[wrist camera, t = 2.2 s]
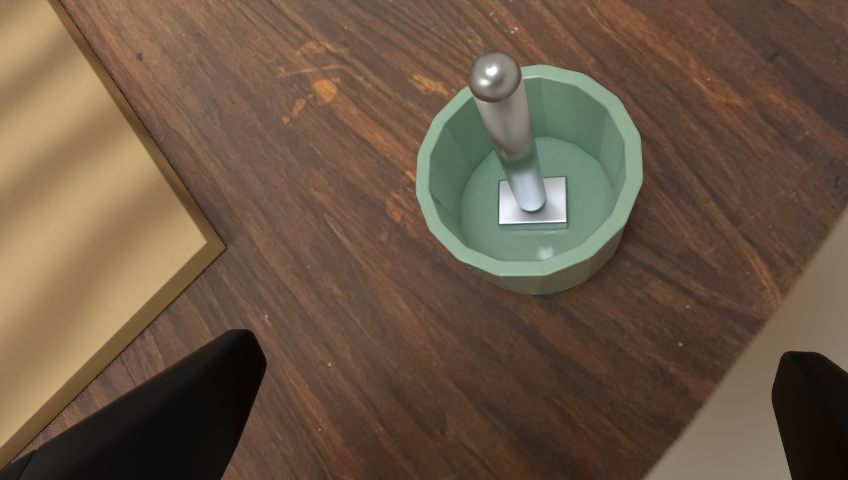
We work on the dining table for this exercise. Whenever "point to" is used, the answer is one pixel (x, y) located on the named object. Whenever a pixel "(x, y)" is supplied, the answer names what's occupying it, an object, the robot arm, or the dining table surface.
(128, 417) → the robot arm
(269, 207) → the dining table surface
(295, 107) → the dining table surface
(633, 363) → the dining table surface
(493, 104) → the metal joystick
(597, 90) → the cup
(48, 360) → the board
